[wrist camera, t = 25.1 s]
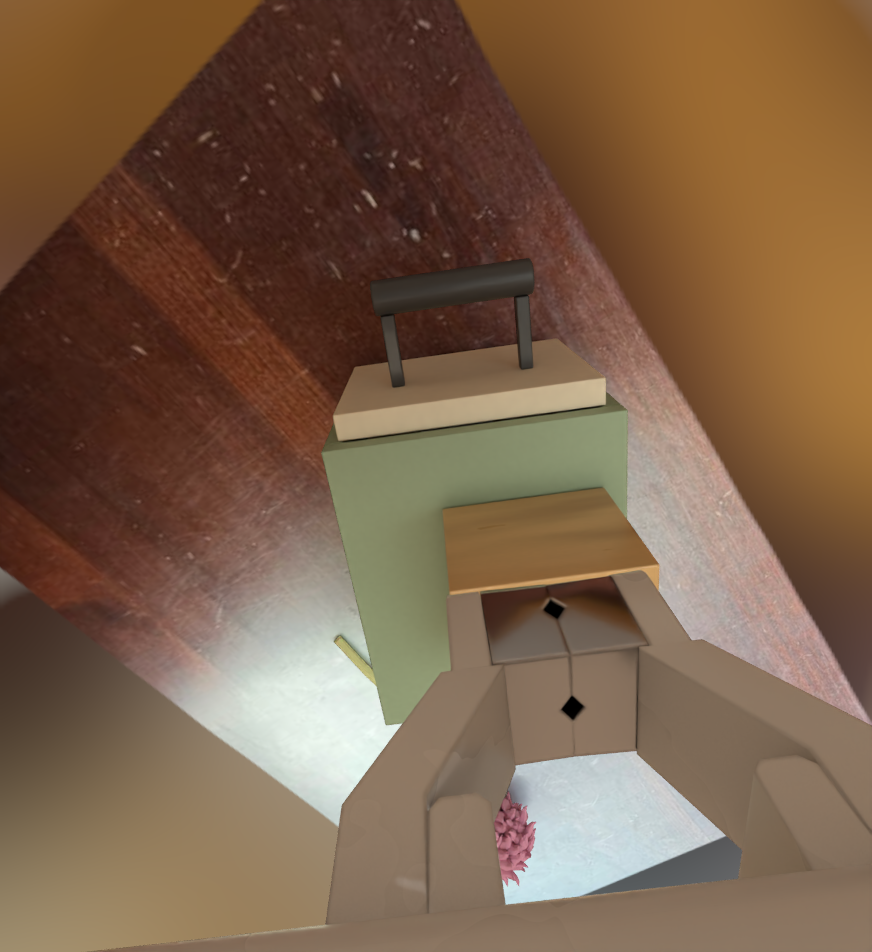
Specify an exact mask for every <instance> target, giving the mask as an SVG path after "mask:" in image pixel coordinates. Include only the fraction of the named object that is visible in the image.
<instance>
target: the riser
mask: <svg viewBox="0 0 872 952" xmlns="http://www.w3.org/2000/svg"><path fill="white" fill-rule="evenodd" d="M442 513H443V525H444V537H445V548H446V560H447V572H448V584H449V594H450V595H454V594H462V593H469V592H477V591H478V592H479V594H480V591H486V590H495V589H505V588H514V587H523V586H533V585H542V584H544V585H547V584H554V583H562V582H569V581H576V580H584V579H591V578H598V577H606V576H608V575H612V574H618V573H624V572H631V571H637V570H642V571H644V572H646V573H647V575H648V576H649V578H650V579H651V581H652V582H653V584H654V585H655V587H656V588H657V590H658V589H659V564H658V562H657V561H656V559H655V558H654V557H653V555H652V554H651V552H650V551H649V550H648V548H647V547H646V545H645V544H644V543H643V541H642V540H641V538H640V537H639V536H638V534H637V533H636V531H635V530H634V529H633V527H632V526H631V524H630V523H629V522H628V520H627V519H626V517H625V516H624V515H623V513H622V512H621V510H620V509H619V507H618V506H617V505H616V503H615V502H614V500H613V499H612V498H611V496H610V495H609V493H608V492H607V491H606V489H605V488H597V489H589V490H582V491H574V492H567V493H559V494H552V495H544V496H537V497H529V498H522V499H514V500H507V501H499V502H492V503H484V504H477V505H470V506H462V507H455V508H447V509H443V510H442Z"/></svg>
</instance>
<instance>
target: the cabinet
mask: <svg viewBox="0 0 872 952" xmlns="http://www.w3.org/2000/svg"><path fill="white" fill-rule="evenodd" d="M568 411H569V412H564V413H557V414H550V415H542V416H535V417H528V418H521V419H513V420H506V421H499V422H491V423H484V424H477V425H470V426H462V427H455V428H448V429H441V430H433V431H426V432H419V433H412V434H404V435H397V436H390V437H383V438H375V439H368V438H362V439H355V440H348V441H341V442H339V441H338V438H337V434H336V429H335V425H334V424H333V426H332V429H331V431H330V433H329V436H328V438H327V440H326V443H325V445H324V447H323V450H322V452H321V453H322V458H323V462H324V466H325V470H326V475H327V479H328V483H329V487H330V491H331V496H332V500H333V504H334V508H335V513H336V517H337V521H338V525H339V529H340V534H341V538H342V542H343V546H344V551H345V555H346V559H347V563H348V567H349V572H350V576H351V580H352V584H353V589H354V593H355V597H356V601H357V605H358V610H359V614H360V618H361V622H362V627H363V631H364V635H365V639H366V643H367V648H368V652H369V656H370V660H371V665H372V669H373V673H374V677H375V681H376V686H377V690H378V694H379V698H380V702H381V707H382V711H383V715H384V719H385V724H386V725H393V724H401V723H403V722H404V721H405V720H406V718H407V717H408V716H409V714H410V713H411V712H412V710H413V709H414V708H415V706H416V705H417V704H418V702H419V701H420V700H421V698H422V697H423V695H424V694H425V693H426V691H427V690H428V689H429V687H430V686H431V685H432V683H433V682H434V681H435V679H436V678H437V677H438V675H439V674H440V673H441V672H445V671H451V664H450V651H449V637H448V623H447V609H446V598H447V595H450V594H449V584H448V572H447V560H446V548H445V537H444V525H443V513H442V510H443V509H447V508H455V507H462V506H470V505H477V504H484V503H492V502H499V501H507V500H514V499H522V498H529V497H537V496H544V495H552V494H559V493H567V492H574V491H582V490H589V489H597V488H605V489H606V491H607V492H608V493H609V495H610V496H611V498H612V499H613V500H614V502H615V503H616V505H617V506H618V507H619V509H620V510H621V512H622V513H623V515H624V516H625V517H626V519H627V431H628V411H627V409H626V408H624V407H623V406H622V405H620V404H619V403H618V402H617V401H616V400H615V399H614V398H613V397H612V396H610V395H609V394H608V393H607V392H606V405H602V406H595V407H587V408H580V409H573V410H568Z"/></svg>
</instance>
